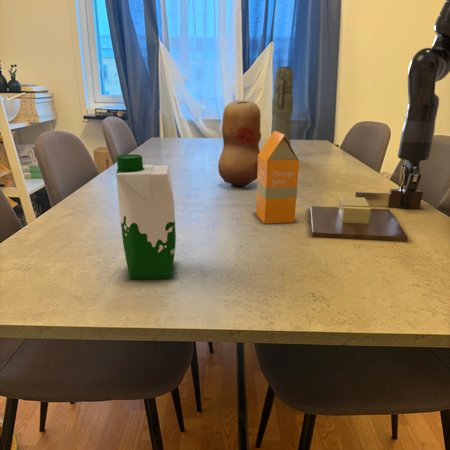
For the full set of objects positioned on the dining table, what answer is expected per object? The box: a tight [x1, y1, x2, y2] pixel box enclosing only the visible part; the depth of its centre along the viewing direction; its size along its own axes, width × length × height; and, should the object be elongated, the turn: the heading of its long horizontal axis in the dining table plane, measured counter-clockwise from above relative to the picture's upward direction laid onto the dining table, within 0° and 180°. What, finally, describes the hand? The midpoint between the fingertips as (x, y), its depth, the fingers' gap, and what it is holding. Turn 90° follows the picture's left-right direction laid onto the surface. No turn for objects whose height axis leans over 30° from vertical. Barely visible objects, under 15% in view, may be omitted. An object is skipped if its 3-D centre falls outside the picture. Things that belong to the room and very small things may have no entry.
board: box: [310, 205, 409, 243], centre depth 103 cm, size 20×22×1 cm
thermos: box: [271, 66, 294, 145], centre depth 184 cm, size 9×12×35 cm
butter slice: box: [342, 206, 372, 224], centre depth 100 cm, size 6×2×4 cm, turn 81°
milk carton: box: [115, 153, 177, 280], centre depth 73 cm, size 9×9×20 cm
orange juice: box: [255, 131, 300, 225], centre depth 103 cm, size 8×9×20 cm
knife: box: [354, 188, 424, 210], centre depth 117 cm, size 17×2×4 cm, turn 81°
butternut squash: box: [217, 100, 262, 187], centre depth 134 cm, size 14×13×25 cm
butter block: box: [338, 196, 370, 219], centre depth 106 cm, size 6×8×4 cm
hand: (403, 206), depth 117 cm, fingers closed on knife, 2 cm apart
